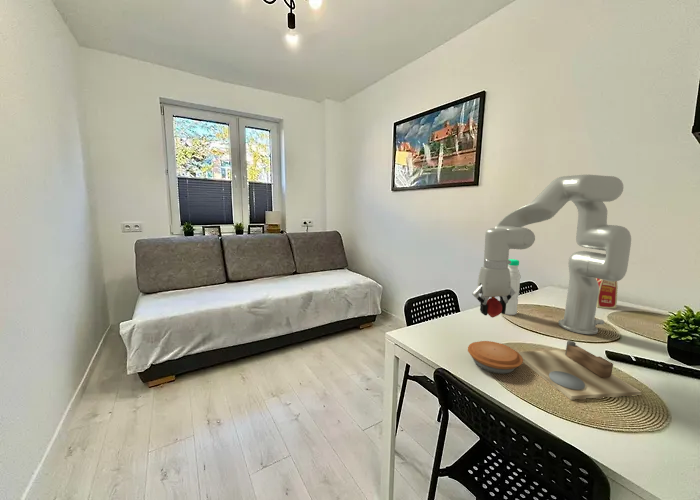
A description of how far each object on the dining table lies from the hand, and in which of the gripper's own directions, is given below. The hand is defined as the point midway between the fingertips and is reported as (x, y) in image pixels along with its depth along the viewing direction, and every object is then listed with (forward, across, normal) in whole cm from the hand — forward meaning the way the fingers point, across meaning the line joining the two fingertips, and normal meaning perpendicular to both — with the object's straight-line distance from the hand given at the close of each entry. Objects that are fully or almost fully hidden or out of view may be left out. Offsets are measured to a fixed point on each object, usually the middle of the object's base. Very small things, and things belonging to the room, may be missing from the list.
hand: (492, 312), depth 102 cm
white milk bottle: (+13, -25, -27) cm, 38 cm away
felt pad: (+10, -7, +25) cm, 28 cm away
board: (+12, -13, +20) cm, 27 cm away
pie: (+11, +7, +13) cm, 19 cm away
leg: (+10, -19, +19) cm, 28 cm away
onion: (+2, 0, 0) cm, 2 cm away
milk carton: (+15, -78, -33) cm, 86 cm away
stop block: (+11, -21, +22) cm, 32 cm away
